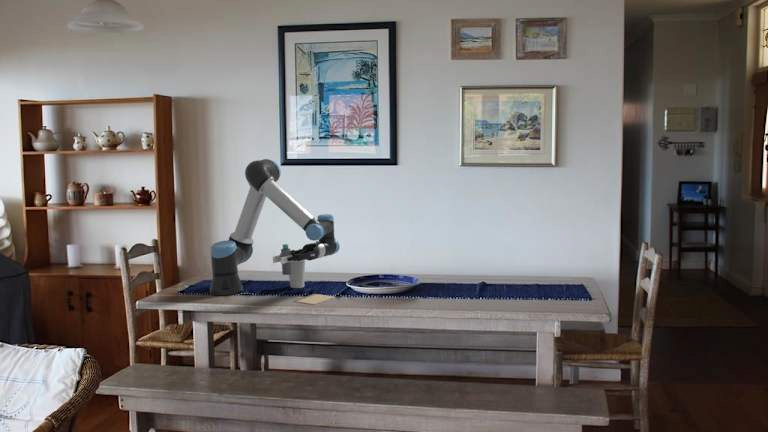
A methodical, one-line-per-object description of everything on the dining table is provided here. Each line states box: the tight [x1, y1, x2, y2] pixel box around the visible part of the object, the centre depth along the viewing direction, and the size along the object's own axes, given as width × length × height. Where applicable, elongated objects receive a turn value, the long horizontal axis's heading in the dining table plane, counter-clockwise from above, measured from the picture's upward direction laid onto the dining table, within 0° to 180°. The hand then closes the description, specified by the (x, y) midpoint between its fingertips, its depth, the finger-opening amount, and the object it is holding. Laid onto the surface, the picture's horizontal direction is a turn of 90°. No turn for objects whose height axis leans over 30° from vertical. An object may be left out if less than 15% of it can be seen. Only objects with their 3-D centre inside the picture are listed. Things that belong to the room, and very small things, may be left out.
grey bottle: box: [280, 243, 292, 276], centre depth 296 cm, size 4×4×13 cm
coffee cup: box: [288, 259, 307, 289], centre depth 322 cm, size 10×10×15 cm
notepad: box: [293, 293, 336, 306], centre depth 297 cm, size 12×14×1 cm
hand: (277, 260), depth 291 cm, fingers closed on grey bottle, 4 cm apart
